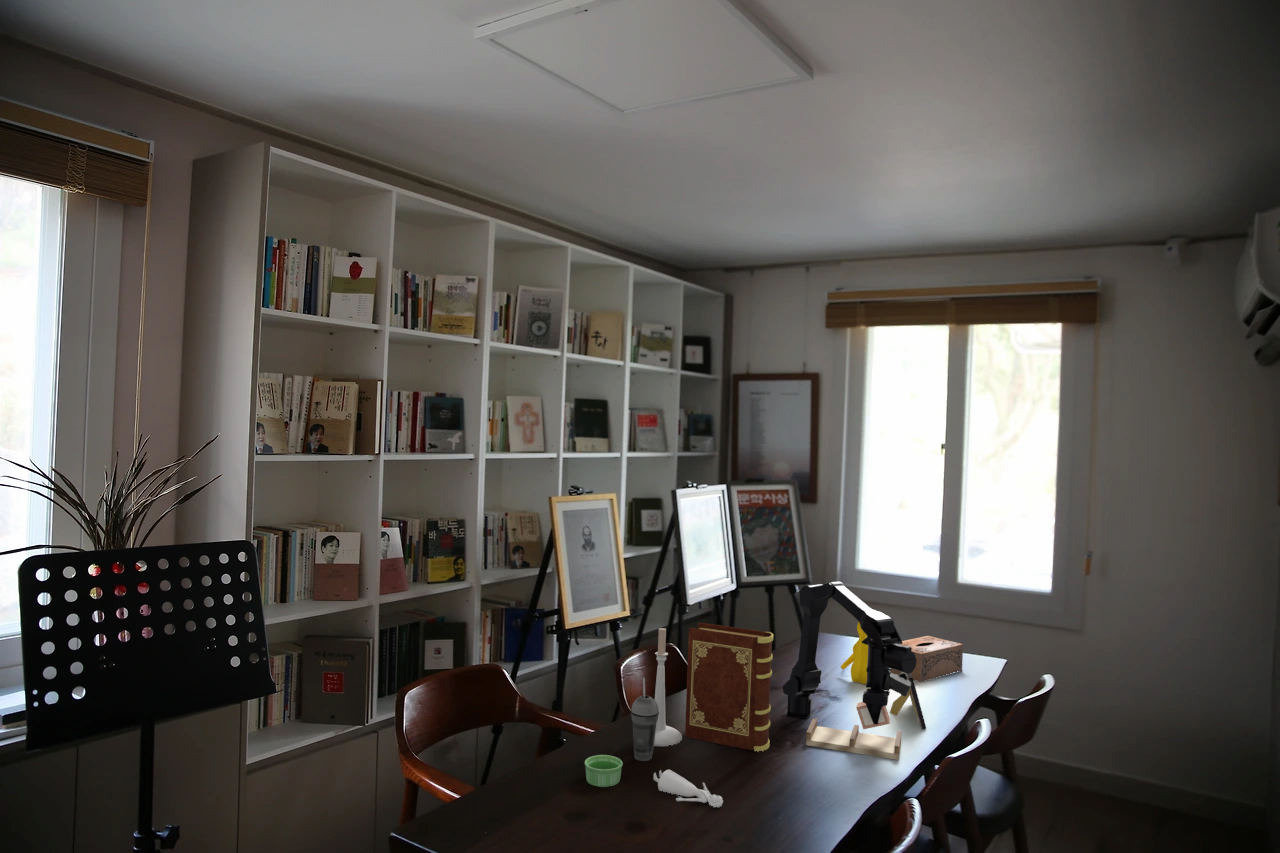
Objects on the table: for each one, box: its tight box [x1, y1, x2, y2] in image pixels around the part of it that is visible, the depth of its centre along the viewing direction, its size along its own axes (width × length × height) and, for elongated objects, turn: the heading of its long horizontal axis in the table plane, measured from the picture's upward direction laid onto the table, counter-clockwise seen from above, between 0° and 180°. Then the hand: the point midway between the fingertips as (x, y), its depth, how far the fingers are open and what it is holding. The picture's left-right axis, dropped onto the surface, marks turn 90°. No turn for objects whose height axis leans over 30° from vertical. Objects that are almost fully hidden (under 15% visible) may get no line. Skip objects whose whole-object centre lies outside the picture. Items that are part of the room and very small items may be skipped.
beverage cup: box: [630, 677, 659, 762], centre depth 214 cm, size 7×7×20 cm
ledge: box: [805, 718, 903, 761], centre depth 228 cm, size 24×12×4 cm, turn 70°
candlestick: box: [654, 627, 683, 747], centre depth 228 cm, size 13×13×30 cm
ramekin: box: [584, 754, 624, 788], centre depth 199 cm, size 9×9×4 cm
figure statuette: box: [839, 621, 868, 685], centre depth 286 cm, size 18×8×22 cm, turn 57°
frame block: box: [856, 701, 891, 730], centre depth 226 cm, size 7×4×6 cm, turn 70°
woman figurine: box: [653, 769, 724, 808], centre depth 192 cm, size 12×4×18 cm
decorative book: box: [684, 622, 774, 753], centre depth 228 cm, size 22×8×30 cm, turn 65°
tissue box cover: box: [891, 635, 964, 683], centre depth 303 cm, size 26×14×10 cm, turn 128°
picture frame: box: [889, 673, 927, 731], centre depth 254 cm, size 23×9×15 cm, turn 168°
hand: (876, 721), depth 226 cm, fingers closed on frame block, 4 cm apart
